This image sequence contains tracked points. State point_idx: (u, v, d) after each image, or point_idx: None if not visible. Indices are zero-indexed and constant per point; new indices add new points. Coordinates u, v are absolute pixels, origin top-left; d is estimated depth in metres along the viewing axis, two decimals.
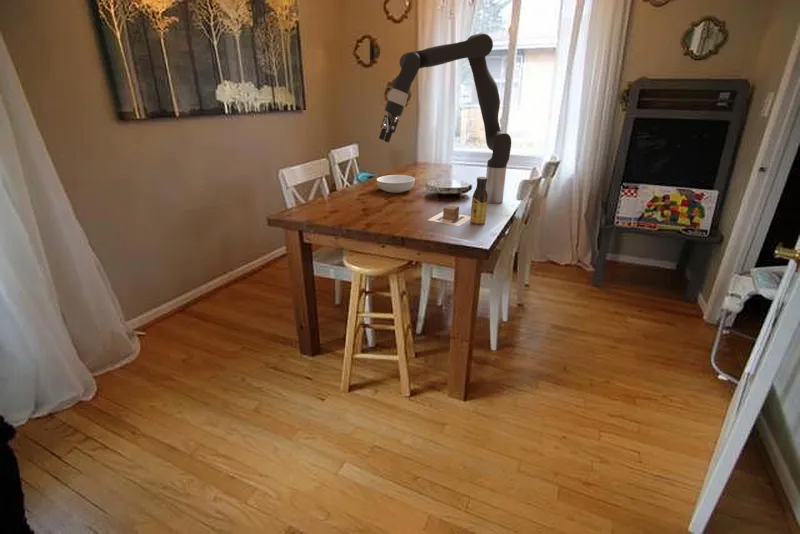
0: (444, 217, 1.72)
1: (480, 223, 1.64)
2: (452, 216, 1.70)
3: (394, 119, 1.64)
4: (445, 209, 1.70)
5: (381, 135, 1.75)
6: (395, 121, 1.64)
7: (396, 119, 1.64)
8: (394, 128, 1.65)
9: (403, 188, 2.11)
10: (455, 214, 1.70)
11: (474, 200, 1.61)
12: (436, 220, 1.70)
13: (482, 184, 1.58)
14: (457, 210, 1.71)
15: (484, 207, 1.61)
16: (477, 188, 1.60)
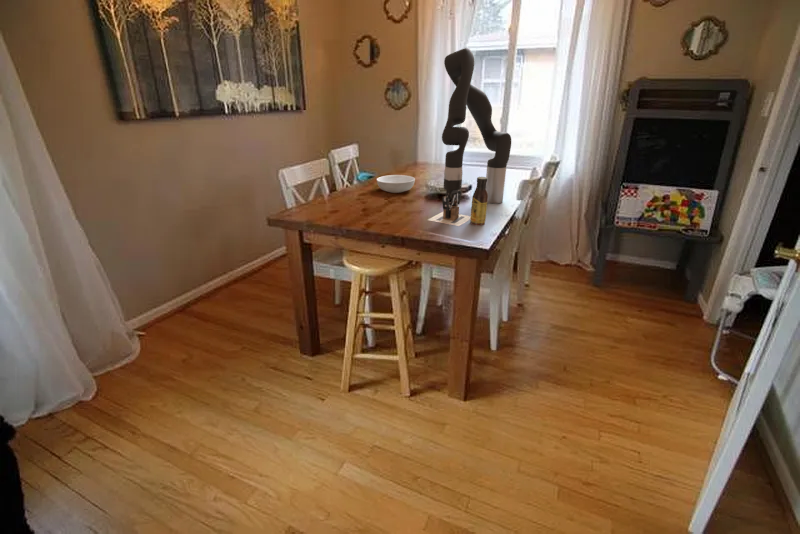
0: (444, 217, 1.72)
1: (480, 223, 1.64)
2: (452, 216, 1.70)
3: None
4: None
5: None
6: None
7: None
8: None
9: (403, 188, 2.11)
10: (455, 214, 1.70)
11: (474, 200, 1.61)
12: (436, 220, 1.70)
13: (482, 184, 1.58)
14: (457, 210, 1.71)
15: (484, 207, 1.61)
16: (477, 188, 1.60)
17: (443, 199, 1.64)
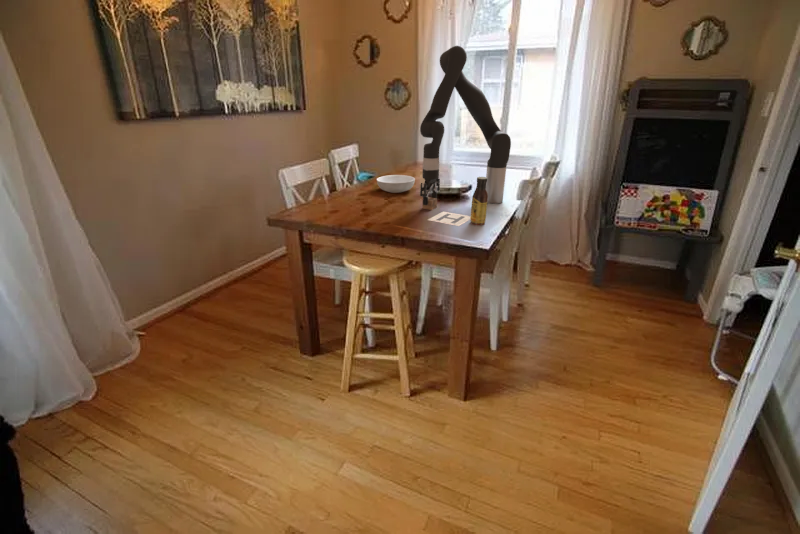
0: (423, 208, 1.87)
1: (480, 223, 1.64)
2: (430, 207, 1.84)
3: None
4: None
5: None
6: None
7: None
8: None
9: (403, 188, 2.11)
10: (433, 205, 1.85)
11: (474, 200, 1.61)
12: (436, 220, 1.70)
13: (482, 184, 1.58)
14: (435, 201, 1.86)
15: (484, 207, 1.61)
16: (477, 188, 1.60)
17: (421, 185, 1.78)
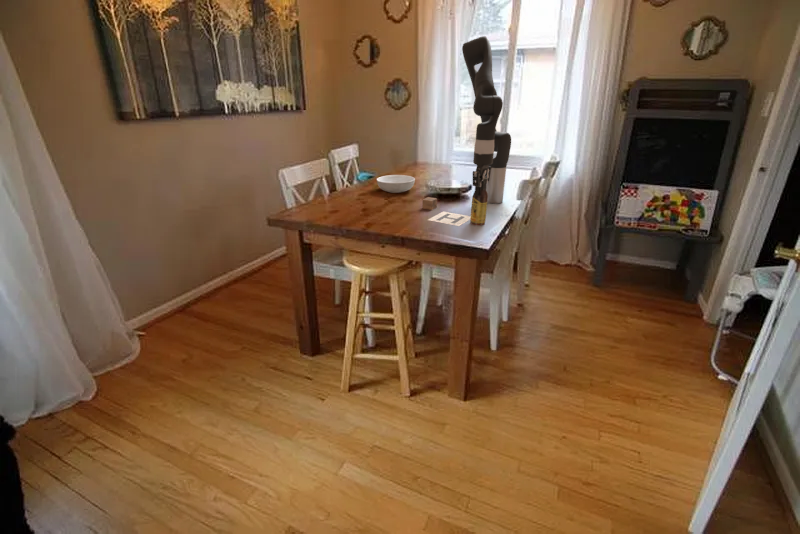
0: (423, 208, 1.87)
1: (480, 223, 1.64)
2: (430, 207, 1.84)
3: None
4: (424, 201, 1.85)
5: None
6: None
7: None
8: None
9: (403, 188, 2.11)
10: (433, 205, 1.85)
11: (474, 200, 1.61)
12: (436, 220, 1.70)
13: (482, 184, 1.58)
14: (435, 201, 1.86)
15: (484, 207, 1.61)
16: None
17: (473, 174, 1.53)
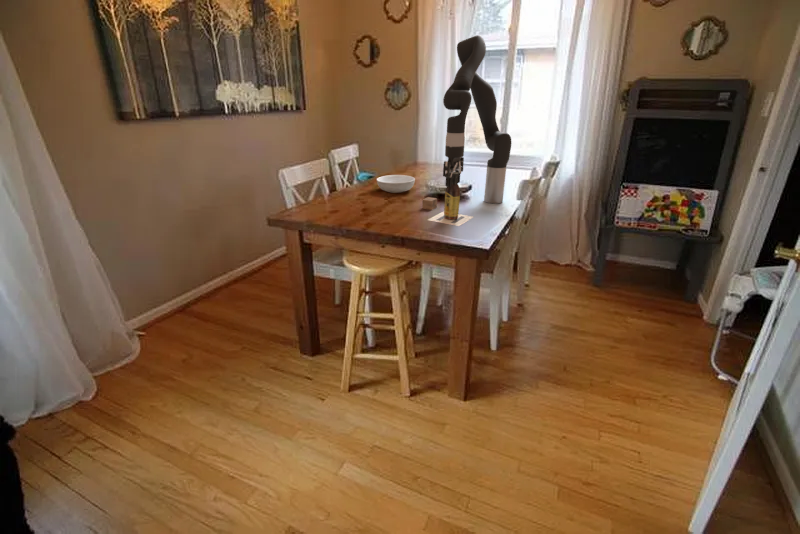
0: (423, 208, 1.87)
1: (453, 216, 1.70)
2: (430, 207, 1.84)
3: None
4: (424, 201, 1.85)
5: None
6: None
7: None
8: None
9: (403, 188, 2.11)
10: (433, 205, 1.85)
11: (447, 194, 1.67)
12: (436, 220, 1.70)
13: (454, 178, 1.64)
14: (435, 201, 1.86)
15: (456, 201, 1.67)
16: None
17: (444, 164, 1.58)
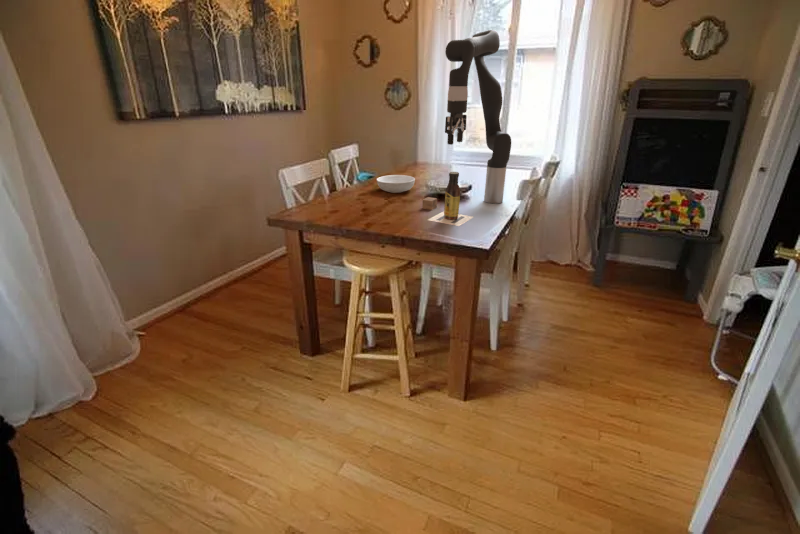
0: (423, 208, 1.87)
1: (453, 217, 1.70)
2: (430, 207, 1.84)
3: None
4: (424, 201, 1.85)
5: None
6: None
7: None
8: None
9: (403, 188, 2.11)
10: (433, 205, 1.85)
11: (447, 194, 1.67)
12: (436, 220, 1.70)
13: (454, 178, 1.64)
14: (435, 201, 1.86)
15: (456, 201, 1.67)
16: (449, 183, 1.65)
17: (447, 119, 1.51)
